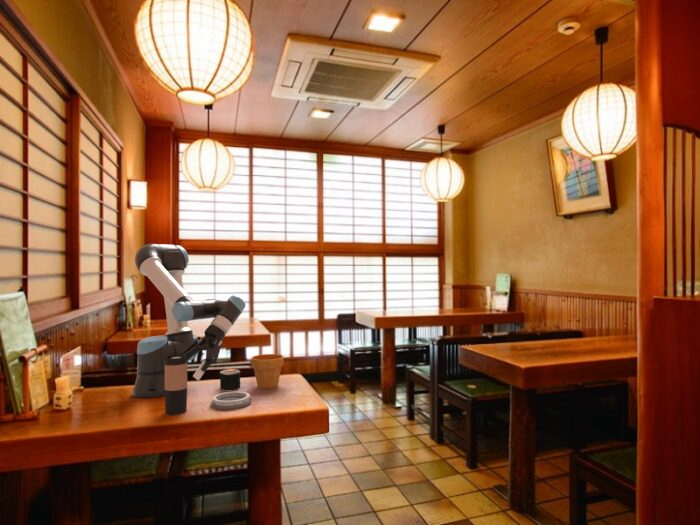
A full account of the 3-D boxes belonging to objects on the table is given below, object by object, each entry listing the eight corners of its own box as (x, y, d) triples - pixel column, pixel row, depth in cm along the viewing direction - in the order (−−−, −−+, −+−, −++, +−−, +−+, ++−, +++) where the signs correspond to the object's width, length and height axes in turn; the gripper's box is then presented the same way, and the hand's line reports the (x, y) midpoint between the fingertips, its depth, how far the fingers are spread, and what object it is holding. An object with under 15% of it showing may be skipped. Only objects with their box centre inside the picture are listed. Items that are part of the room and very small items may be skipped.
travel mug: (165, 416, 151) (165, 359, 151) (163, 410, 158) (163, 355, 158) (188, 413, 154) (188, 357, 155) (185, 407, 161) (185, 353, 162)
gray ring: (202, 407, 161) (202, 399, 161) (227, 396, 175) (227, 389, 175) (235, 411, 155) (235, 403, 156) (259, 400, 169) (259, 393, 170)
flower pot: (246, 385, 192) (245, 356, 192) (274, 380, 201) (274, 352, 201) (259, 392, 181) (259, 361, 181) (289, 386, 189) (289, 357, 190)
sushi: (231, 384, 194) (231, 366, 194) (243, 387, 189) (243, 369, 189) (216, 388, 188) (216, 370, 188) (228, 391, 183) (228, 372, 183)
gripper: (244, 337, 165) (211, 386, 152) (204, 333, 179) (171, 377, 167) (232, 325, 160) (198, 374, 148) (193, 322, 175) (158, 366, 163)
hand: (184, 376), depth 157 cm, fingers open, 13 cm apart
